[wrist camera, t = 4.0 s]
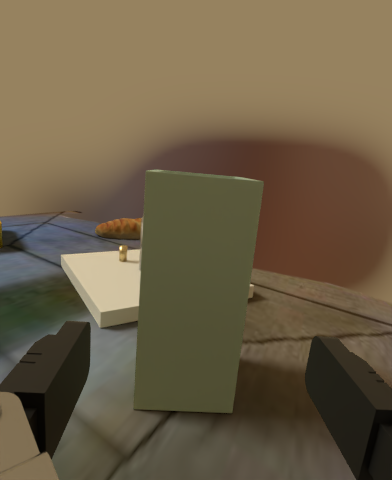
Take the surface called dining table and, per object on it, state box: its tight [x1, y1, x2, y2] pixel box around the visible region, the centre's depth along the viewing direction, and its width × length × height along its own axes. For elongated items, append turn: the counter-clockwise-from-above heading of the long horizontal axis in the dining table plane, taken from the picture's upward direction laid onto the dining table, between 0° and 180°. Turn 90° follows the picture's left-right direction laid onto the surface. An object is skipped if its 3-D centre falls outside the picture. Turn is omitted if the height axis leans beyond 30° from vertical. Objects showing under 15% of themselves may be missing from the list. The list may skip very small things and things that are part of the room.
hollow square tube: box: [133, 170, 264, 413], centre depth 21 cm, size 8×6×14 cm
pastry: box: [95, 218, 142, 240], centre depth 62 cm, size 9×7×4 cm
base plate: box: [61, 215, 254, 328], centre depth 39 cm, size 18×18×9 cm
